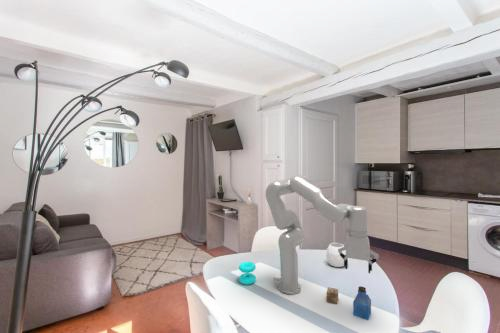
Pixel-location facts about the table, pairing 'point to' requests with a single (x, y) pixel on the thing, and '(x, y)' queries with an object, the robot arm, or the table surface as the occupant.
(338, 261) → the white jar
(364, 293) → the perfume bottle
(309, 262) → the table surface
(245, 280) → the donuts
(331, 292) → the letter cube
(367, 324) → the table surface
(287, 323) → the table surface
